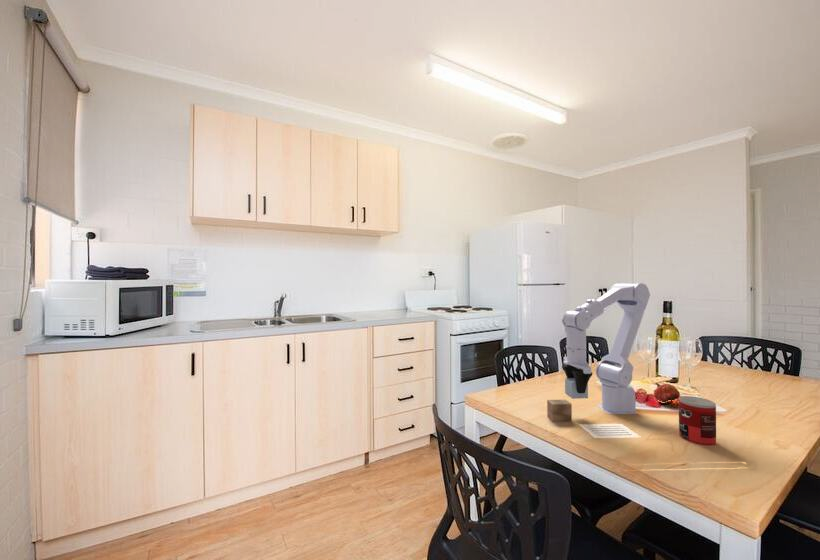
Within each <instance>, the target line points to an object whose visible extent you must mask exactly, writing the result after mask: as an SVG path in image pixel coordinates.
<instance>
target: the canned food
mask: <svg viewBox="0 0 820 560" xmlns="http://www.w3.org/2000/svg"><path fill="white" fill-rule="evenodd" d="M716 405H717V404H716V403H715V402H714V401H712V400H710V399H707V398H703V397H700V396H692V395H684V396H683V395H682V396H679V398H678V435H679V437H681V439H683V440H686V441H688V442H691V443H693V444H698V445H703V446H714V445H716V444H717V406H716Z"/></svg>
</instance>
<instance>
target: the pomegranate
mask: <svg viewBox="0 0 820 560" xmlns="http://www.w3.org/2000/svg"><path fill="white" fill-rule="evenodd" d="M655 385H656V386H657V387H656V388H655V389H654V390H653V398H654V399H655V398H656V399H657V400H659V401H662V402H666V401H668V400H671V403H672V402H674V401H676V400H677V399H679V397H680V395H681V393H680V391H679V390H678V388H676V387H675V386H674V385H672V384H669V383H663V384H659V383H658V382H656V383H655ZM656 399H655V400H656ZM675 399H676V400H675ZM657 400H656V401H657ZM672 400H674V401H672Z"/></svg>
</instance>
